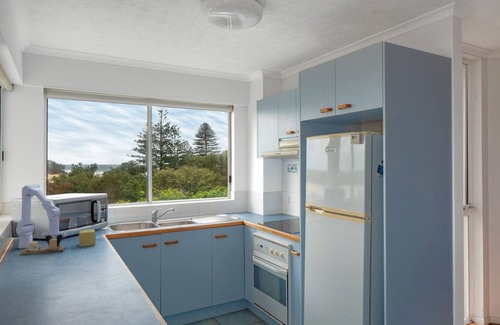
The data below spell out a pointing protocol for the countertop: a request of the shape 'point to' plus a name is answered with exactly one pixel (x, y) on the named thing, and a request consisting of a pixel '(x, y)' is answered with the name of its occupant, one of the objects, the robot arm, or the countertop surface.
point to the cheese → (87, 237)
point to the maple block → (33, 246)
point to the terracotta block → (53, 244)
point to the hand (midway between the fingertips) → (54, 246)
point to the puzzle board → (43, 250)
